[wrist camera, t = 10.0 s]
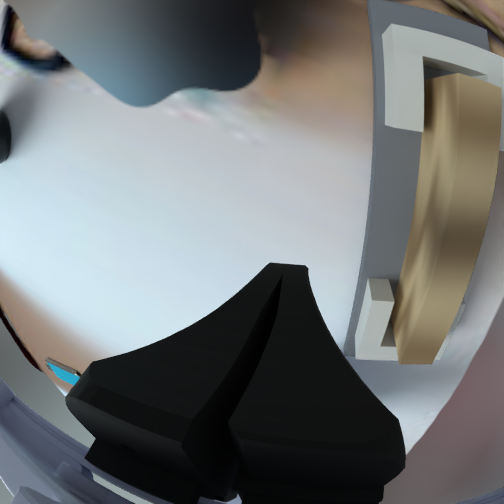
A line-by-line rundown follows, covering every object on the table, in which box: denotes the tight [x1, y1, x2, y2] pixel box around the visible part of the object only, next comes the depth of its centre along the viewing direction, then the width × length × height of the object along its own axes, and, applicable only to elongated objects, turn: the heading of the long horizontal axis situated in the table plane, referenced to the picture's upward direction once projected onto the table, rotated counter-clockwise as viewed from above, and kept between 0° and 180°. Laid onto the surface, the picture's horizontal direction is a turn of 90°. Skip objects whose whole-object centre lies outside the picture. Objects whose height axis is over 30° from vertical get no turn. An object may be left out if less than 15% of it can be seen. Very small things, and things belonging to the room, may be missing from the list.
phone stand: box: [45, 358, 81, 386], centre depth 45 cm, size 20×12×2 cm, turn 98°
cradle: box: [344, 0, 504, 361], centre depth 14 cm, size 26×8×4 cm, turn 3°
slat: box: [390, 73, 502, 364], centre depth 13 cm, size 16×2×5 cm, turn 3°
